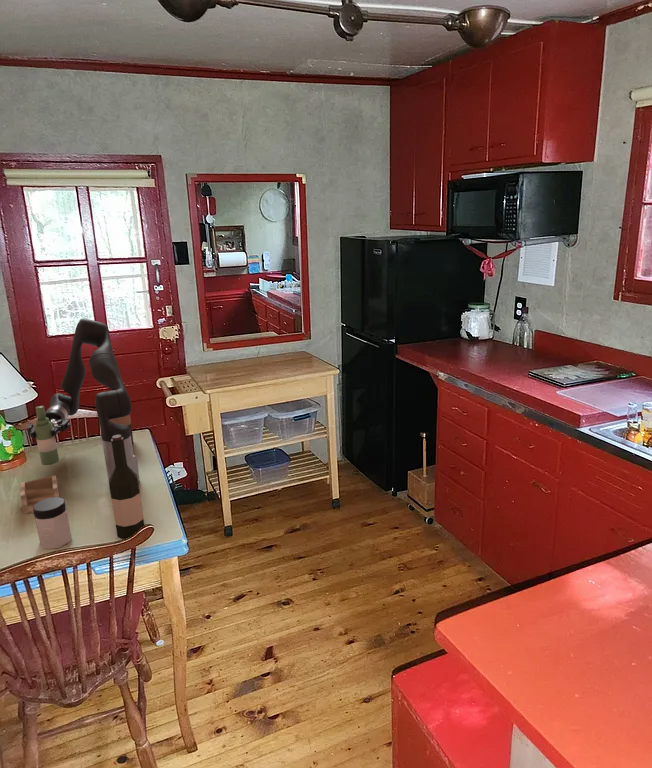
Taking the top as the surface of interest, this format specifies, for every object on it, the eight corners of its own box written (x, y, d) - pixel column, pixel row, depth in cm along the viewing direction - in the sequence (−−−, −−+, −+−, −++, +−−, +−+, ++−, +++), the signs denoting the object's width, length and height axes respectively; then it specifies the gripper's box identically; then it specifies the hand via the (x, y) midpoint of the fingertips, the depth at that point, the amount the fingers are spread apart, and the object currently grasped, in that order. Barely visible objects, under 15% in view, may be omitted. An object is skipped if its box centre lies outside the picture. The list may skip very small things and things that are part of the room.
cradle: (24, 500, 186) (20, 482, 185) (58, 493, 191) (55, 475, 189) (24, 514, 178) (20, 496, 176) (60, 506, 182) (57, 487, 180)
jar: (33, 550, 158) (25, 512, 155) (45, 534, 166) (38, 497, 163) (66, 548, 159) (59, 510, 155) (77, 532, 167) (70, 496, 163)
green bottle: (63, 459, 199) (52, 404, 193) (50, 466, 193) (40, 410, 188) (49, 457, 200) (39, 403, 195) (37, 464, 195) (26, 409, 189)
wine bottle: (140, 539, 162) (126, 441, 153) (111, 539, 162) (95, 442, 154) (149, 523, 170) (136, 430, 161) (122, 524, 170) (107, 431, 161)
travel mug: (129, 438, 235) (122, 392, 230) (137, 443, 230) (130, 396, 224) (111, 444, 231) (103, 397, 225) (118, 449, 225) (111, 401, 219)
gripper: (31, 410, 205) (17, 426, 189) (73, 406, 207) (63, 421, 192) (35, 430, 207) (21, 447, 191) (77, 425, 210) (67, 442, 194)
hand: (42, 434), depth 191 cm, fingers closed on green bottle, 5 cm apart
